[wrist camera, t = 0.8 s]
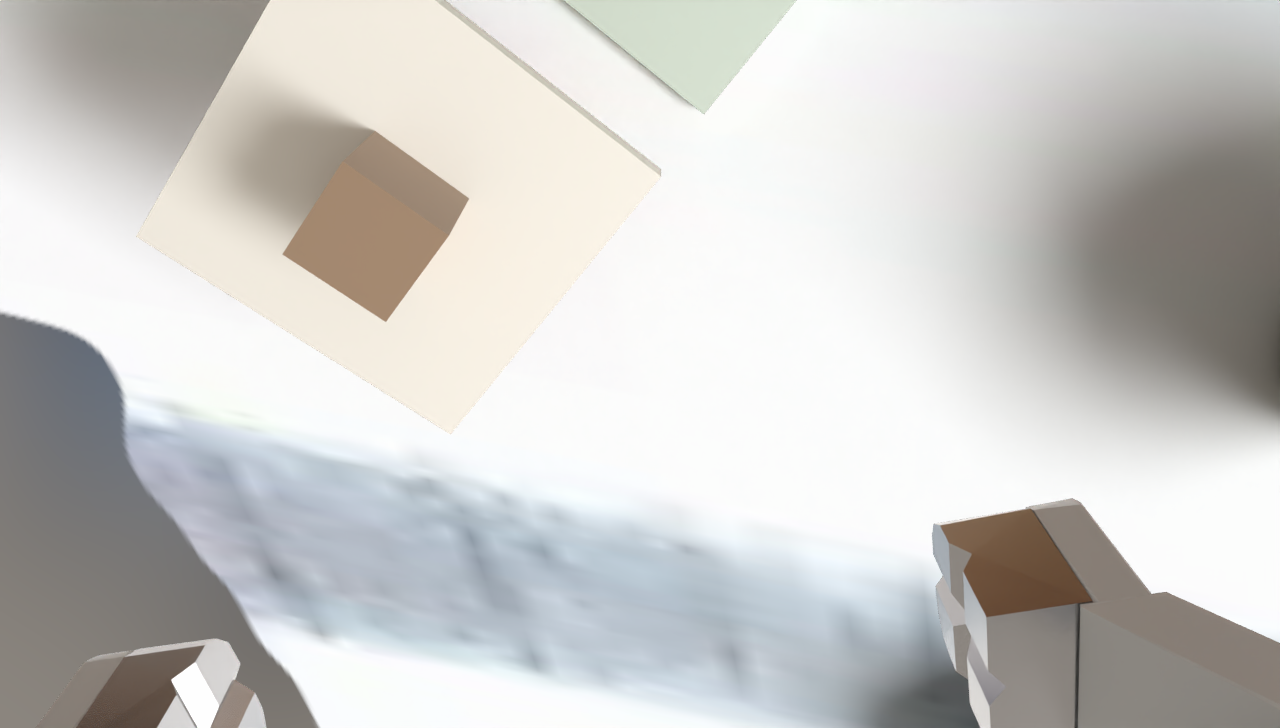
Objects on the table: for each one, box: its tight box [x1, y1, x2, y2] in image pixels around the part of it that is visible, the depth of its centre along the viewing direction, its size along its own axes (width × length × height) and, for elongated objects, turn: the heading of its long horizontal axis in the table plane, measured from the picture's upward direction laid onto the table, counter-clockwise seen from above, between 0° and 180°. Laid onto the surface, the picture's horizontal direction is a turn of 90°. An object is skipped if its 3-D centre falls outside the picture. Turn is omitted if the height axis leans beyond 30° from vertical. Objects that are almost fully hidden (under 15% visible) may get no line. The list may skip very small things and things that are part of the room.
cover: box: [136, 0, 661, 434], centre depth 33 cm, size 14×14×5 cm
